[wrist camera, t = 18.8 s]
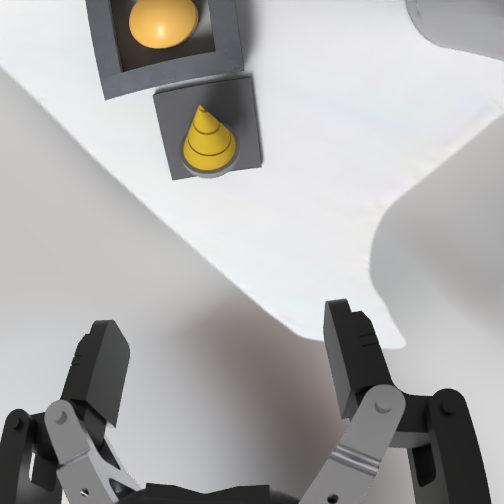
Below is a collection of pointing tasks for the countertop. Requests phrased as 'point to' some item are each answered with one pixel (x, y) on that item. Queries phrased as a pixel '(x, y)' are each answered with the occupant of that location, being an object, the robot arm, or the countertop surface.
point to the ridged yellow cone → (209, 146)
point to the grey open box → (168, 71)
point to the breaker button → (163, 22)
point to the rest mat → (220, 107)
